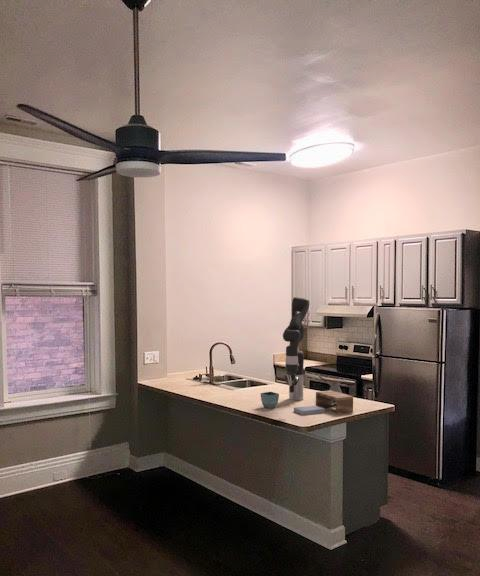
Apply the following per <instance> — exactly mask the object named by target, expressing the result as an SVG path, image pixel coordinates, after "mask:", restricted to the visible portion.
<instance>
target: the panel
mask: <svg viewBox="0 0 480 576" xmlns="http://www.w3.org/2000/svg"><path fill="white" fill-rule="evenodd" d="M293 412H294V413H297V414H298V415H301V416H307V415H309V416H310V415H316V414H325V412H326V408H324V407H323V406H322V407H319V406H316V404H314V405H308V406H307V405H306V406H297V407H296V406H295V407H293Z"/></svg>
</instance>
